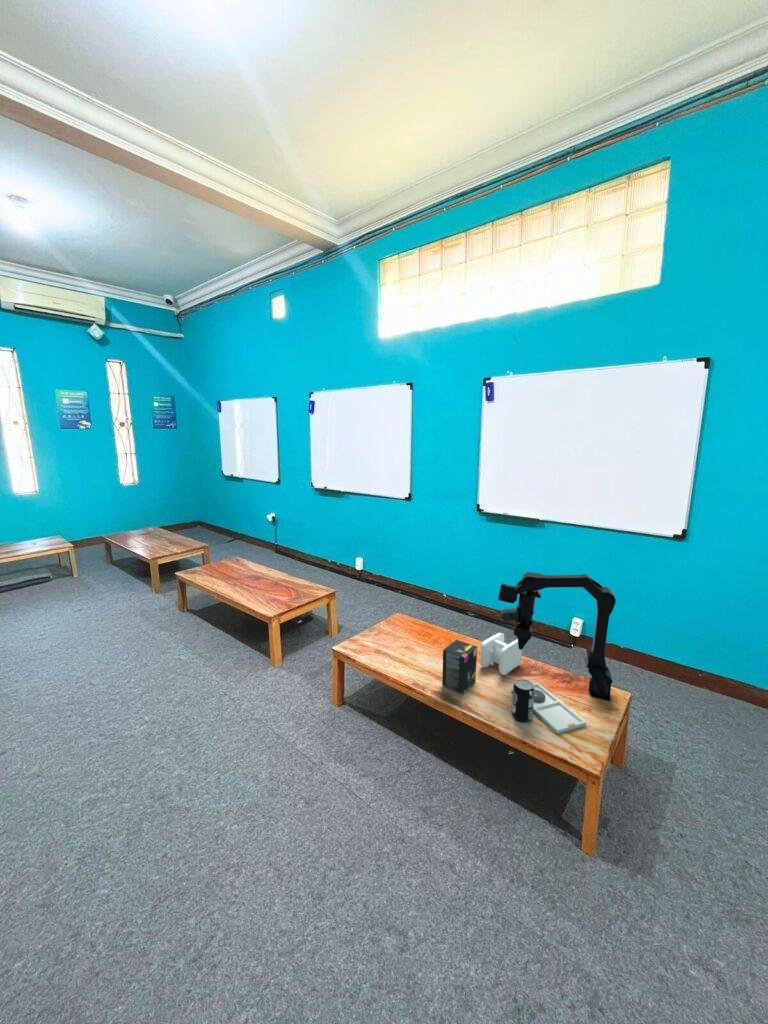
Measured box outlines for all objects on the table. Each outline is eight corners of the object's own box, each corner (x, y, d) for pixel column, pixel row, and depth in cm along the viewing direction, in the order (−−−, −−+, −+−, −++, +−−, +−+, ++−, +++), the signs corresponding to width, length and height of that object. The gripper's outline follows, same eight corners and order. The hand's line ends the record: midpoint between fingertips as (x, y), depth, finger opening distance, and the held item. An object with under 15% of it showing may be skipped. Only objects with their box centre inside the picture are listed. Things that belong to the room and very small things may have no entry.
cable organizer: (501, 679, 155) (503, 651, 153) (478, 668, 163) (479, 641, 161) (521, 665, 165) (523, 638, 163) (498, 655, 173) (500, 630, 171)
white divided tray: (537, 685, 150) (537, 681, 150) (586, 725, 129) (586, 721, 129) (511, 692, 147) (511, 687, 146) (557, 734, 125) (557, 729, 125)
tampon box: (463, 695, 145) (465, 657, 143) (441, 685, 150) (442, 649, 148) (476, 681, 154) (478, 645, 151) (455, 672, 159) (456, 638, 157)
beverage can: (508, 710, 136) (510, 678, 134) (527, 709, 137) (529, 677, 135) (516, 724, 130) (518, 690, 128) (536, 723, 130) (538, 689, 128)
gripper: (506, 593, 162) (501, 628, 165) (501, 610, 145) (496, 650, 148) (535, 598, 158) (530, 635, 161) (534, 617, 141) (528, 657, 144)
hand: (520, 643), depth 153 cm, fingers open, 9 cm apart
